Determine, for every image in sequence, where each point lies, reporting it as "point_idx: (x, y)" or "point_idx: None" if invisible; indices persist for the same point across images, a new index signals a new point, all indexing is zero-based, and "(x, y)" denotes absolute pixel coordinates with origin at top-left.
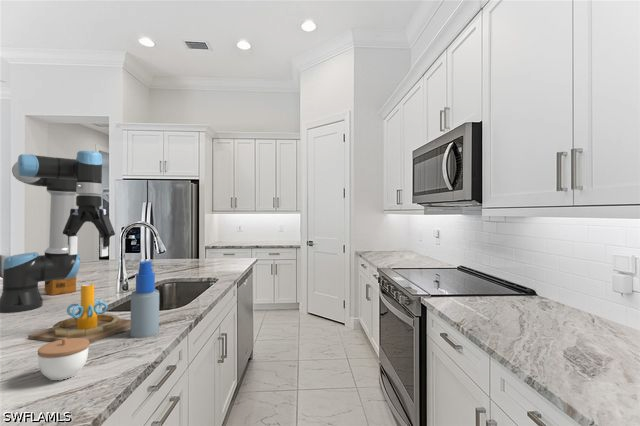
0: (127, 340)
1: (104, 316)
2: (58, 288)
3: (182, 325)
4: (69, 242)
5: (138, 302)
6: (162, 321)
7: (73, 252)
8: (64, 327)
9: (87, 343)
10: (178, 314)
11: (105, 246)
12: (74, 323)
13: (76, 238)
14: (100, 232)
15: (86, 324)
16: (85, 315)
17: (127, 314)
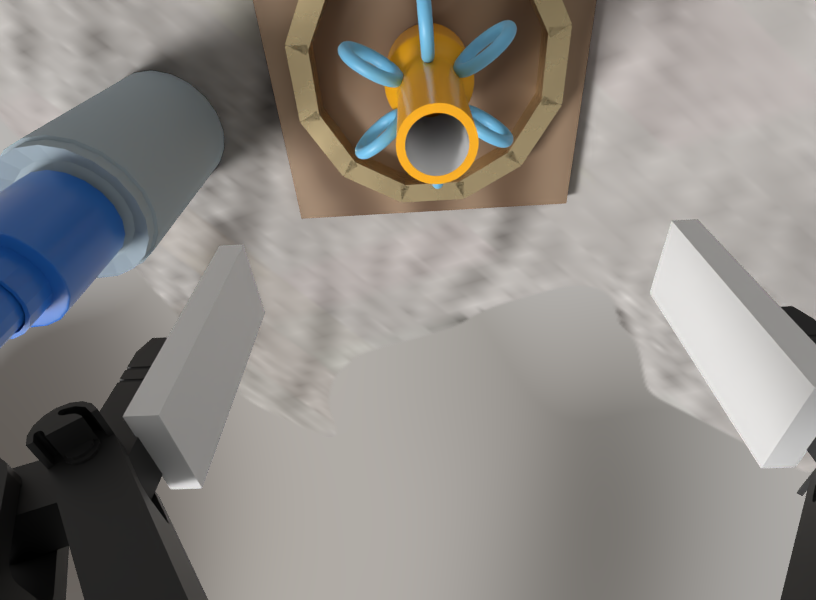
0: (137, 27)
1: None
2: None
3: None
4: (773, 315)
5: (41, 127)
6: (250, 262)
7: (671, 269)
8: (534, 26)
9: None
10: (274, 336)
11: (151, 340)
12: (536, 90)
13: (748, 429)
14: (125, 504)
15: (395, 42)
16: (405, 54)
17: (455, 284)
